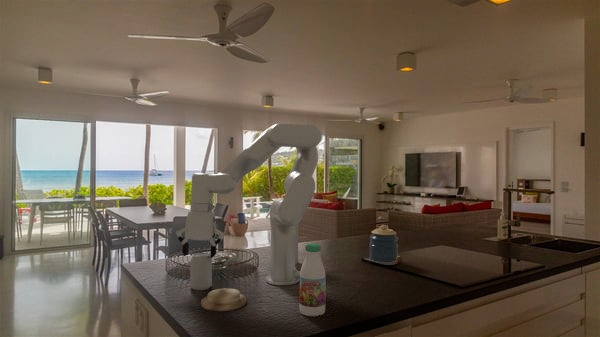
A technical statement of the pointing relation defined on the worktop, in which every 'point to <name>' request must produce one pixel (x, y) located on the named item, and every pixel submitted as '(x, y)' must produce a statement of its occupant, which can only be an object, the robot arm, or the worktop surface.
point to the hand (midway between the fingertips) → (199, 256)
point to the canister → (383, 245)
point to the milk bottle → (312, 283)
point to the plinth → (223, 300)
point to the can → (200, 271)
